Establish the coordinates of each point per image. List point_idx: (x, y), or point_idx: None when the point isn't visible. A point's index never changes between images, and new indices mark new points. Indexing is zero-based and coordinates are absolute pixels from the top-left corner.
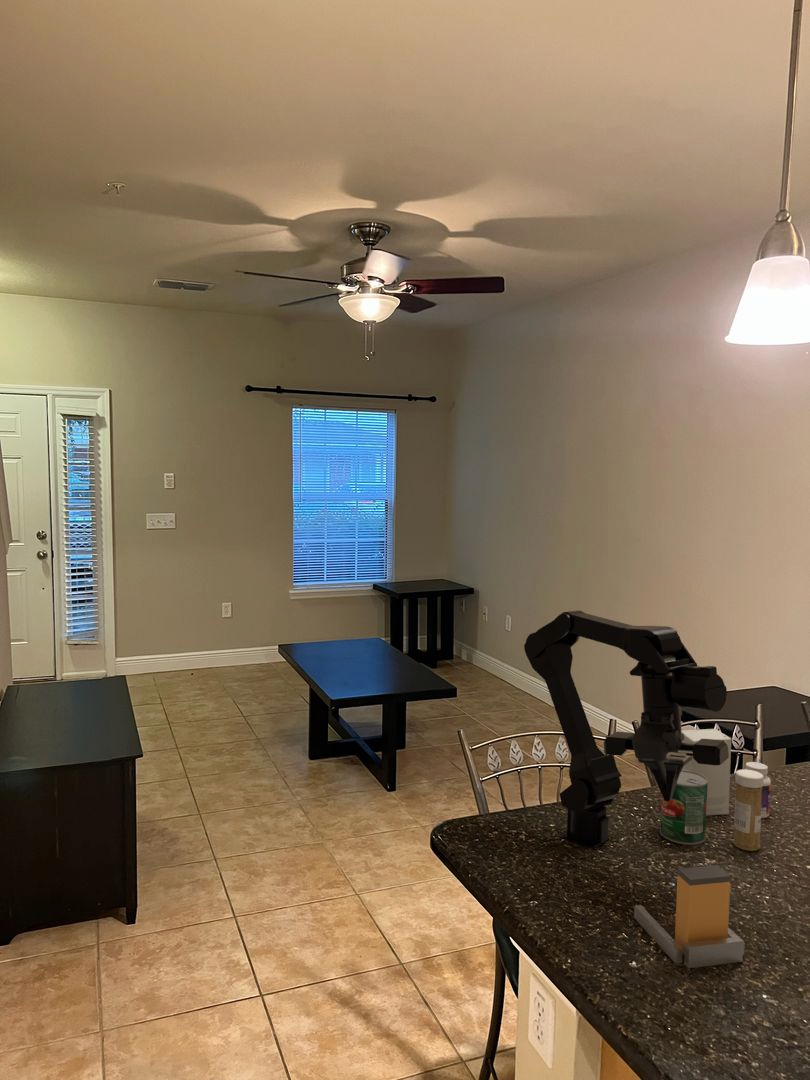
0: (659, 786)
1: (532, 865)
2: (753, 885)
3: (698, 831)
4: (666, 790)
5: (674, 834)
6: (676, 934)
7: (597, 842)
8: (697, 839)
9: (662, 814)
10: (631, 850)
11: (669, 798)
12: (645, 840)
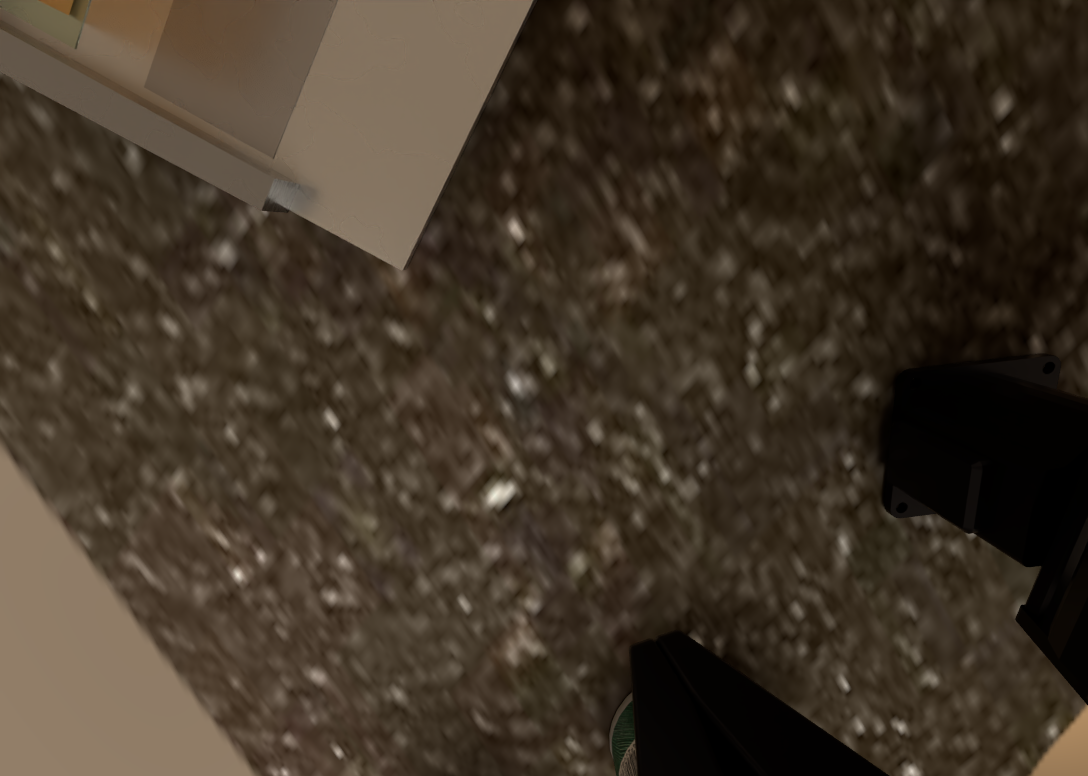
0: (805, 732)
1: (1053, 7)
2: (318, 610)
3: (625, 761)
4: (697, 730)
5: None
6: None
7: (905, 417)
8: (620, 729)
9: None
10: (772, 492)
11: (634, 666)
12: (769, 600)
